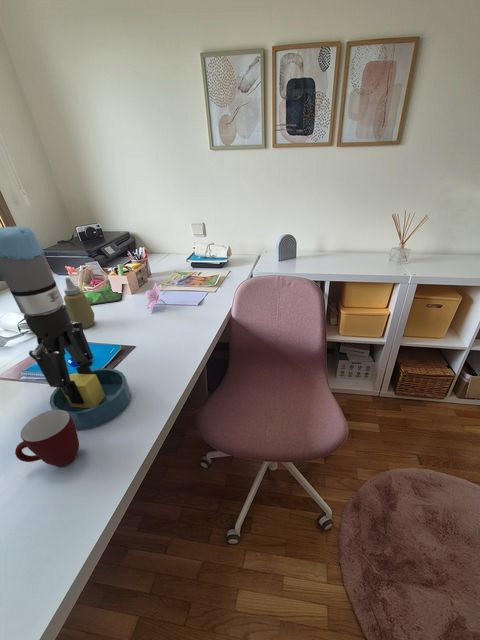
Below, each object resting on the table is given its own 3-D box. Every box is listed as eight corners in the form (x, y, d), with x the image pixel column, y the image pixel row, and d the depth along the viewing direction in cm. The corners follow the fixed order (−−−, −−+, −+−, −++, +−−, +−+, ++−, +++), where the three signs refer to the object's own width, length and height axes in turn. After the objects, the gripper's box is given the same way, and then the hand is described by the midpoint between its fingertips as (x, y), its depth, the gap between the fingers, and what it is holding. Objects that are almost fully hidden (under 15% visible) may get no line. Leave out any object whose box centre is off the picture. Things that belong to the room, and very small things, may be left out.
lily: (150, 303, 128) (135, 288, 121) (174, 291, 127) (160, 275, 120) (151, 322, 121) (136, 308, 114) (177, 310, 120) (162, 294, 112)
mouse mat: (121, 300, 128) (121, 298, 128) (64, 309, 122) (63, 306, 122) (123, 280, 150) (123, 278, 149) (74, 286, 144) (74, 284, 143)
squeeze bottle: (94, 318, 115) (77, 272, 105) (100, 325, 110) (83, 278, 100) (71, 325, 111) (51, 277, 101) (76, 333, 106) (56, 284, 96)
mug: (28, 491, 56) (2, 456, 50) (28, 460, 61) (4, 426, 56) (90, 463, 61) (72, 428, 55) (85, 437, 66) (68, 403, 61)
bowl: (41, 426, 69) (31, 410, 66) (86, 380, 83) (79, 366, 80) (107, 433, 67) (100, 417, 64) (142, 385, 81) (138, 370, 78)
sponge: (71, 407, 73) (59, 384, 70) (82, 394, 77) (72, 373, 73) (95, 408, 72) (84, 386, 69) (105, 396, 76) (95, 374, 72)
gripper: (26, 330, 53) (75, 423, 66) (87, 292, 68) (118, 374, 81) (-10, 329, 54) (45, 420, 67) (57, 291, 69) (92, 372, 82)
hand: (84, 395), depth 74 cm, fingers closed on sponge, 4 cm apart
